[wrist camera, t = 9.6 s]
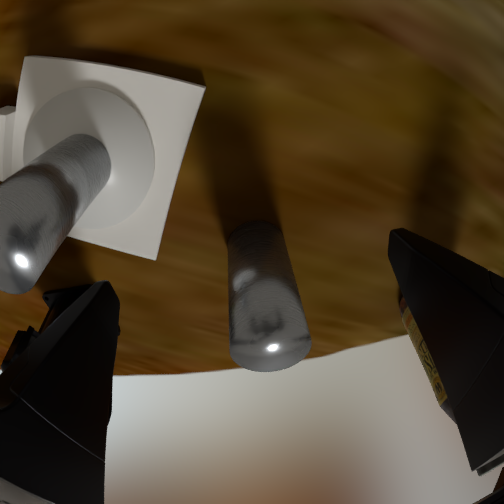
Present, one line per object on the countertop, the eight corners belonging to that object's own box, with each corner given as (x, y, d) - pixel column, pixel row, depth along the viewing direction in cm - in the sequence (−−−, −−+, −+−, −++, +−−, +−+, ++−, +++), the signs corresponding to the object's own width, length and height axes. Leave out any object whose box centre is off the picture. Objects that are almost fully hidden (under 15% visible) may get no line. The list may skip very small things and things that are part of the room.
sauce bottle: (403, 276, 28) (498, 465, 12) (452, 269, 28) (550, 429, 12) (389, 323, 32) (455, 490, 15) (435, 314, 32) (507, 462, 15)
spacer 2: (234, 272, 26) (238, 376, 18) (222, 226, 24) (220, 329, 15) (287, 263, 26) (312, 364, 18) (281, 216, 23) (309, 314, 15)
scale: (158, 251, 24) (152, 270, 22) (1, 207, 21) (-14, 221, 19) (206, 86, 18) (203, 90, 16) (12, 54, 14) (-7, 57, 12)
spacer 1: (67, 202, 19) (-6, 298, 11) (46, 145, 17) (-51, 220, 9) (120, 186, 19) (55, 287, 11) (99, 124, 17) (5, 191, 8)
